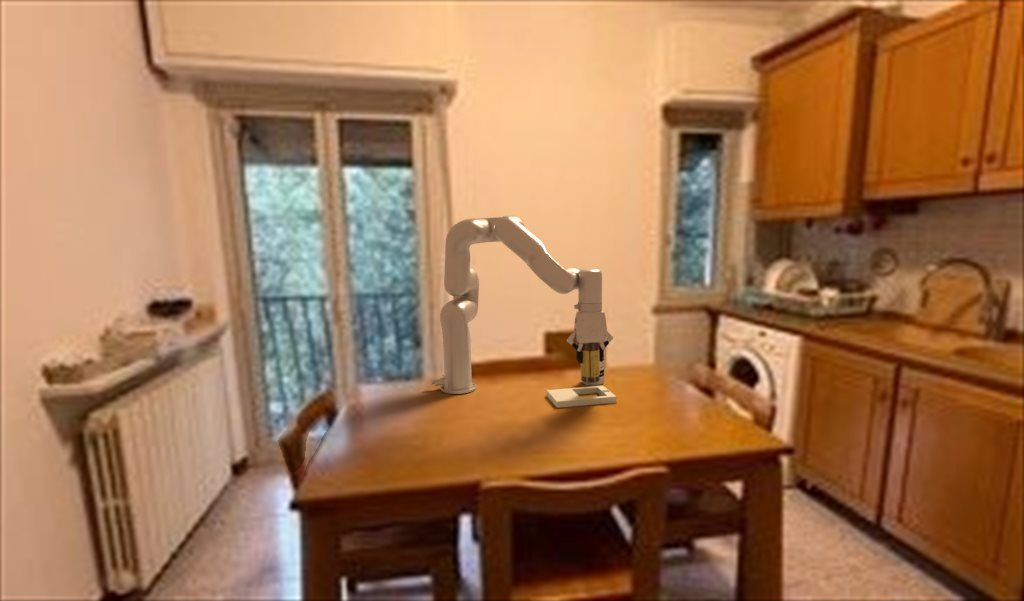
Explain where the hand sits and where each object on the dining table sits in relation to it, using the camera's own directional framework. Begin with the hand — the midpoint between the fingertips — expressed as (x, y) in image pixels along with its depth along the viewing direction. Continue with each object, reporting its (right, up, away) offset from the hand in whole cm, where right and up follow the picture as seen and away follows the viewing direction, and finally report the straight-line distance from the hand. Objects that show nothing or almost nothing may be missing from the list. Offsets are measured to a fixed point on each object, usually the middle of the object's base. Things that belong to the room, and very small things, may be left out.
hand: (589, 361), depth 184 cm
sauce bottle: (0, -7, +1) cm, 7 cm away
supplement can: (+4, -10, +19) cm, 22 cm away
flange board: (-3, -13, +1) cm, 13 cm away
